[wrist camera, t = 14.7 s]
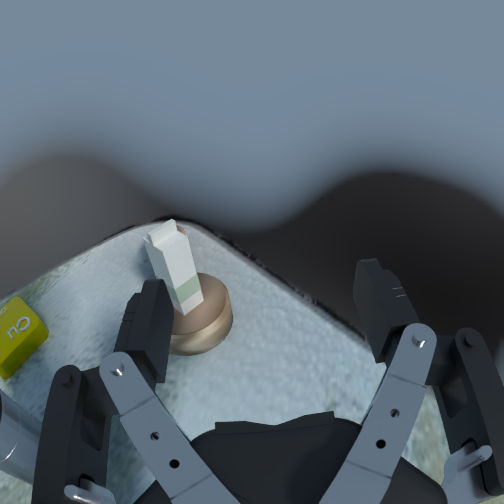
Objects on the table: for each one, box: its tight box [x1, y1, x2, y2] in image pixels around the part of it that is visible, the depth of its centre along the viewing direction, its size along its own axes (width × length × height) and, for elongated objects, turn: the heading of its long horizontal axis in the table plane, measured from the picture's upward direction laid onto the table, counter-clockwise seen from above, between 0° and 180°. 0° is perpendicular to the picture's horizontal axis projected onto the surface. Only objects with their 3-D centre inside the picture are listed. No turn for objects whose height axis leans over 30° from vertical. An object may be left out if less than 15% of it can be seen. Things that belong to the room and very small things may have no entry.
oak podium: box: [169, 273, 233, 356], centre depth 49 cm, size 14×14×5 cm
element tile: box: [0, 297, 49, 379], centre depth 46 cm, size 15×15×5 cm
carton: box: [143, 219, 204, 316], centre depth 43 cm, size 4×5×14 cm
